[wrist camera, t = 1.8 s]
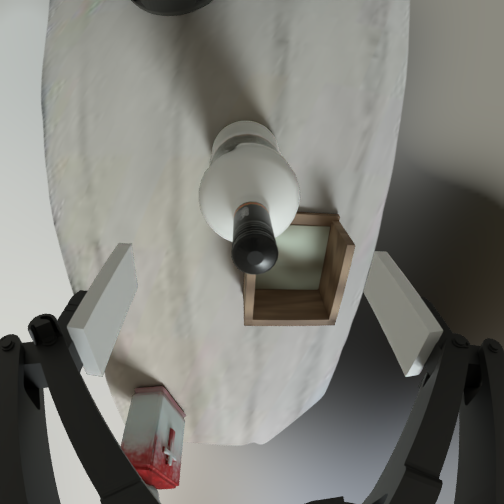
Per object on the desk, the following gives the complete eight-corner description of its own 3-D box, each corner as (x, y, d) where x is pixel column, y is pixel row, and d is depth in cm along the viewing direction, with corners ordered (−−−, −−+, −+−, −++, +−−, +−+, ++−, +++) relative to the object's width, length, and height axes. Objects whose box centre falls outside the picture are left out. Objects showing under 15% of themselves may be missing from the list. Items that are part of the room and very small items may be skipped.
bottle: (189, 413, 75) (181, 514, 49) (156, 415, 76) (142, 510, 49) (167, 382, 68) (149, 498, 42) (131, 385, 69) (106, 492, 42)
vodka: (233, 192, 46) (228, 341, 20) (200, 141, 42) (136, 231, 16) (288, 162, 44) (359, 280, 18) (257, 108, 40) (292, 140, 14)
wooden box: (247, 209, 48) (249, 235, 40) (338, 214, 48) (356, 240, 41) (243, 294, 55) (243, 329, 48) (321, 295, 56) (333, 328, 48)
